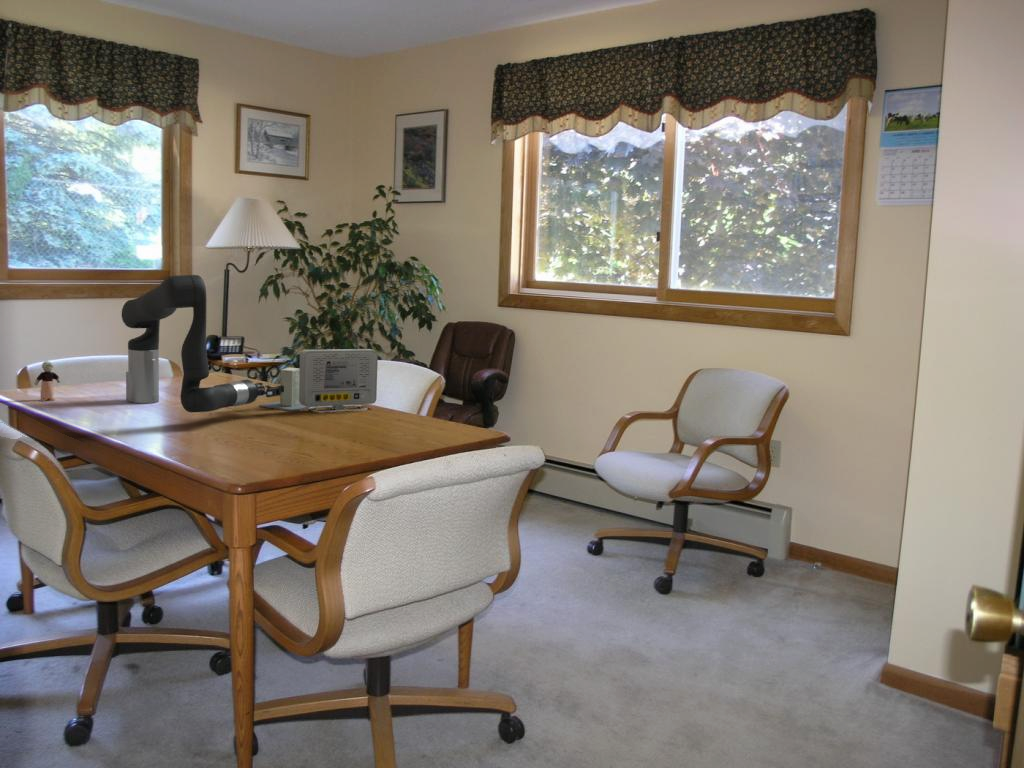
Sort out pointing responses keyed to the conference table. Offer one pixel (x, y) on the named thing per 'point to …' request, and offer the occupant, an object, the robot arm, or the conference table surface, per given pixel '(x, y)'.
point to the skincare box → (290, 386)
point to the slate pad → (288, 408)
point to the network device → (338, 378)
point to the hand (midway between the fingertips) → (272, 387)
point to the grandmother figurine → (47, 381)
